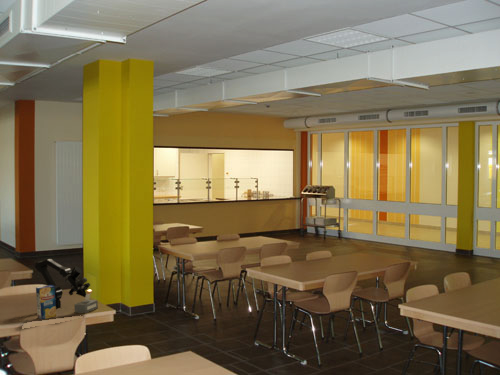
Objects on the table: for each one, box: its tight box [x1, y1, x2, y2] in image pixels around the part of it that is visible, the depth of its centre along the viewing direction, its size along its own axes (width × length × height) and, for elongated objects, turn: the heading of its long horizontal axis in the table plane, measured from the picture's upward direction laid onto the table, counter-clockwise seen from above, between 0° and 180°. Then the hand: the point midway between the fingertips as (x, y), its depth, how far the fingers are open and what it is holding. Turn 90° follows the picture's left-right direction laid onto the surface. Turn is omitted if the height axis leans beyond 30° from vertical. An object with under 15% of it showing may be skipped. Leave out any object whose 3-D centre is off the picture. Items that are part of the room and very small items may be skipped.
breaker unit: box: [73, 299, 99, 314], centre depth 395 cm, size 10×14×6 cm
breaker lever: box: [83, 288, 93, 301], centre depth 394 cm, size 2×4×8 cm, turn 159°
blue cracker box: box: [35, 284, 57, 320], centre depth 380 cm, size 7×11×22 cm, turn 134°
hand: (86, 297), depth 394 cm, fingers closed, pressing on breaker lever
